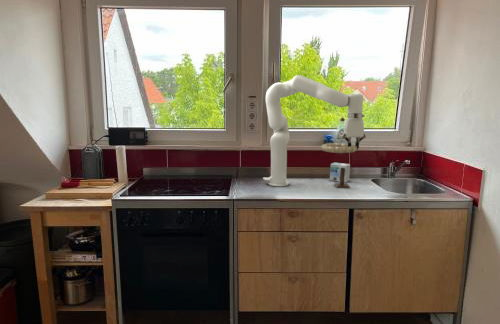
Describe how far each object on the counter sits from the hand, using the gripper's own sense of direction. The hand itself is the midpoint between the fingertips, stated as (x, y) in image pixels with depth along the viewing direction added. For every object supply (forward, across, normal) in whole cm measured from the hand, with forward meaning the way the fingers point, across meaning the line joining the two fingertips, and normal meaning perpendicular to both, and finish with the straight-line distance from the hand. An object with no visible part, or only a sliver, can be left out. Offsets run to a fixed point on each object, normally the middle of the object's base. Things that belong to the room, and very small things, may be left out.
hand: (353, 149), depth 193 cm
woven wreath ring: (-1, +8, 0) cm, 8 cm away
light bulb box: (+23, +1, -22) cm, 32 cm away
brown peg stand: (+23, +3, -6) cm, 24 cm away
